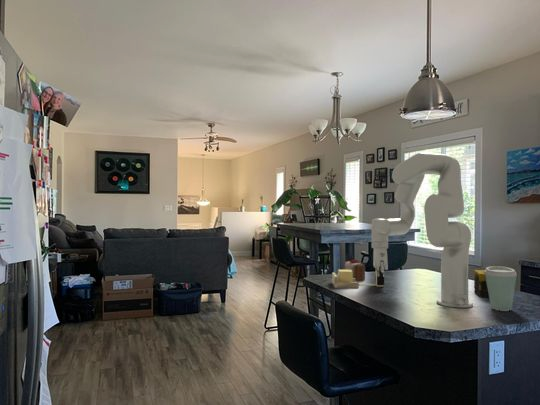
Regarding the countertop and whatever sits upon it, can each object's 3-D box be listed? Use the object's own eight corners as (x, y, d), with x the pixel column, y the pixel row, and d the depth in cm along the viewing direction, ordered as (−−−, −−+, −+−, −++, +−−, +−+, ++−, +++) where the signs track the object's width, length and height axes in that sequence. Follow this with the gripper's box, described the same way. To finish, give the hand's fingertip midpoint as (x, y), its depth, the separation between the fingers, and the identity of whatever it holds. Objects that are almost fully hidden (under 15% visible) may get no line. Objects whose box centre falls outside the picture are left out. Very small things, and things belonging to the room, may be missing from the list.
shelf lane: (358, 288, 183) (358, 277, 183) (334, 287, 184) (334, 276, 184) (355, 283, 194) (355, 272, 194) (332, 282, 195) (332, 272, 195)
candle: (499, 293, 173) (499, 270, 173) (506, 299, 163) (506, 274, 163) (473, 292, 176) (473, 269, 176) (479, 297, 166) (479, 273, 166)
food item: (342, 276, 213) (342, 258, 213) (356, 276, 215) (356, 257, 215) (353, 281, 200) (353, 261, 200) (367, 280, 202) (368, 261, 202)
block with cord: (384, 287, 185) (384, 272, 185) (339, 286, 186) (339, 271, 186) (381, 284, 191) (381, 270, 191) (338, 284, 192) (338, 269, 192)
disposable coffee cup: (522, 313, 141) (522, 270, 141) (488, 311, 143) (488, 269, 143) (511, 306, 151) (511, 266, 151) (480, 304, 153) (480, 265, 154)
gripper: (392, 246, 180) (392, 287, 180) (384, 243, 196) (383, 281, 196) (375, 246, 180) (375, 287, 180) (368, 243, 197) (368, 280, 196)
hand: (379, 283), depth 188 cm, fingers closed on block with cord, 3 cm apart
